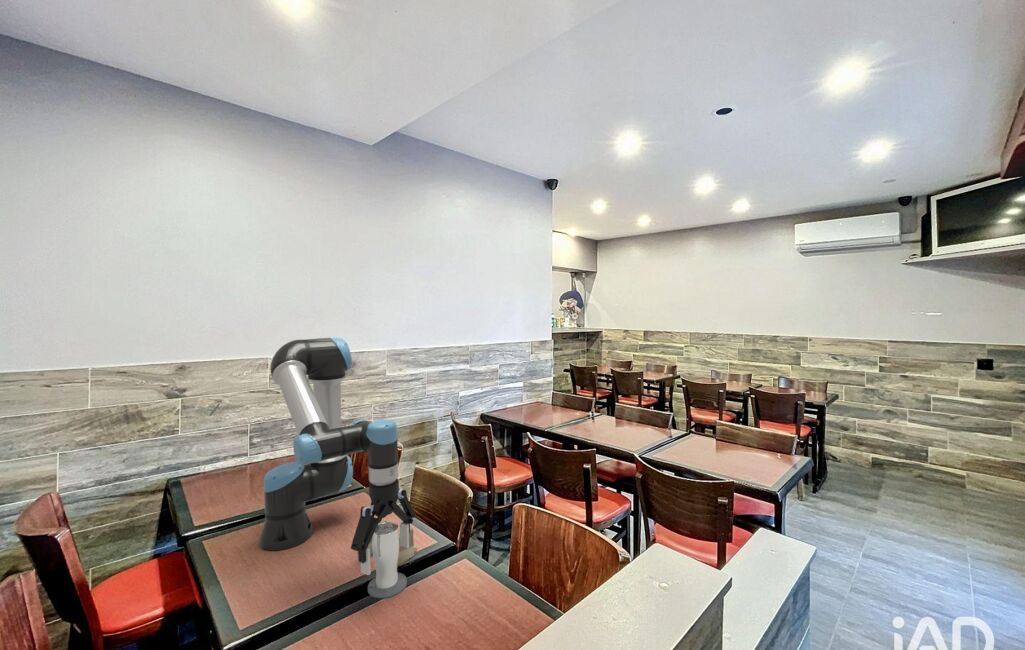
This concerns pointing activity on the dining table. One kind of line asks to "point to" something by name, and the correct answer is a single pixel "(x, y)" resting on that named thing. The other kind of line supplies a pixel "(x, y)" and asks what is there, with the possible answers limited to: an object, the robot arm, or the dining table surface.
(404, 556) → the rack
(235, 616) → the dining table surface
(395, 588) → the coaster
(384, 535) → the beer glass
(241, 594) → the dining table surface
